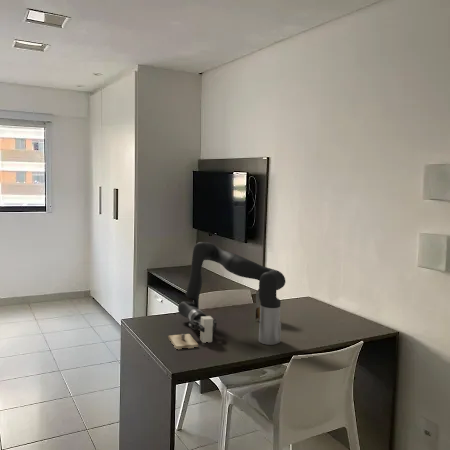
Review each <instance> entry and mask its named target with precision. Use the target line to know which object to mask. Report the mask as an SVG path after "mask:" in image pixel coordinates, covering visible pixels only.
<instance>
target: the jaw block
mask: <svg viewBox="0 0 450 450" xmlns="http://www.w3.org/2000/svg"><path fill="white" fill-rule="evenodd" d="M213 320H214V318H213V317H212V316H211V315H206V316H202V317H201V325H202V326H203V327H204V328H205V331H204V332H202V331H200V330H199V331H200V332H199V333H200V334H199V335H200V336H199V339H200V341H201V343H202V344H205V343H206V342H208V343H213V333H214V331H212V330H213ZM206 344H207V343H206Z"/></svg>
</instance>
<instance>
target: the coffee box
mask: <svg viewBox="0 0 450 450" xmlns="http://www.w3.org/2000/svg"><path fill="white" fill-rule="evenodd" d="M255 293H256V294H255V316H254V317H255V320H254V321H255V322H260V299H259V288H258V289H257V291H256V292H255Z"/></svg>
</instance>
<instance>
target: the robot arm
mask: <svg viewBox="0 0 450 450" xmlns="http://www.w3.org/2000/svg"><path fill="white" fill-rule="evenodd" d="M205 261H211V262H214V263H217V264H220V265H221V266H222V267H223V268H224V269H225V270H226V271H228V272H230V273H231V274H234V275H236V276H238V277H241V278H246V279H251V280H255V281H256V280H257V281H259V282H258V289H259V299H260V321H259V323H258V324H259V325H258V326H259V327H258V343H260V344H263V345H268V346H270V345H271V346H273V345H277V344H280V343H281V337H282V335H281V334H282V322H281V320H280V319H281V300H280V299H279V298H278V297H277V291H280V290H281V289H283V288H284V286H285V285H286V277H285V275H284V274H283V273H282V272H281V271H279V270H276V269H274V268H269V267H267V266H264V265H261V264H258V263H257V262H254V261H252V260H250V259H249V258H245V257H243V256H241V255H239V254H236V253H233V252H230V251H227V250H225V249H223V248H221V247H219V246H217V245H216V244H215V243H213V242H207V241H199V242H197V243H195V245H194V247H193V249H192V256H191V264H190V265H191V267H190V268H191V269H190V274H189V280H188V283H187V284H188V285H187V287H186V291H185V296H186V298H188V299H189V300H192V301H185V300H184V301H181V302H180V303H179V304H178V306H177V307H178V308H177V310H178V311H177V312H178V314H179V315H180V316H182V317H184V318H186V319H188V320H189V321H188V327H189V328H190V329H192V330H194V331H197V330H198V331H202V332H204V331H205V328H204V327H203V326H202V325H201V317H202V316H207V314H205V313H204V312H203V311H202V310H201V309H200V308H199V306H200V305H199V304H200V303H199V302H200V301H199V300H200V294H201V290H202V286H203V277H202V266H203V264H204V262H205ZM217 326H218V325H217V319H216V318H215V319H214V318H213V330H212V331H213V332H216V329H217Z"/></svg>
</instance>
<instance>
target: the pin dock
mask: <svg viewBox="0 0 450 450" xmlns="http://www.w3.org/2000/svg"><path fill="white" fill-rule="evenodd" d="M167 337H168V340H169V342H170V341H171V342H170V343H171V344H173V345H174V346H173V345H172V346H173V347H174V349H175V348H176V349H178V350H183V349H182V348H188V349H195V348H194V347H198V348H199V343H198V342H197V341H196V340H195V339H194V337H192V335H191V334H190V333H181V334H172V335H171V334H170V335H168V336H167ZM176 349H175V350H176Z"/></svg>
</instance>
